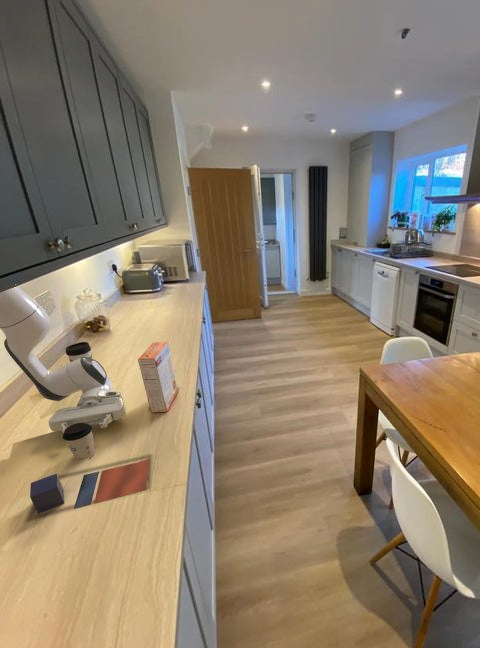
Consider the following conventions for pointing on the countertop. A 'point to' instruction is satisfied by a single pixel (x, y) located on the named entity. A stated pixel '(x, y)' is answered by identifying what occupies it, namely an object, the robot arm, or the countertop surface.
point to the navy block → (47, 493)
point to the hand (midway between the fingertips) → (84, 429)
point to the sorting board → (113, 483)
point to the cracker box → (158, 376)
